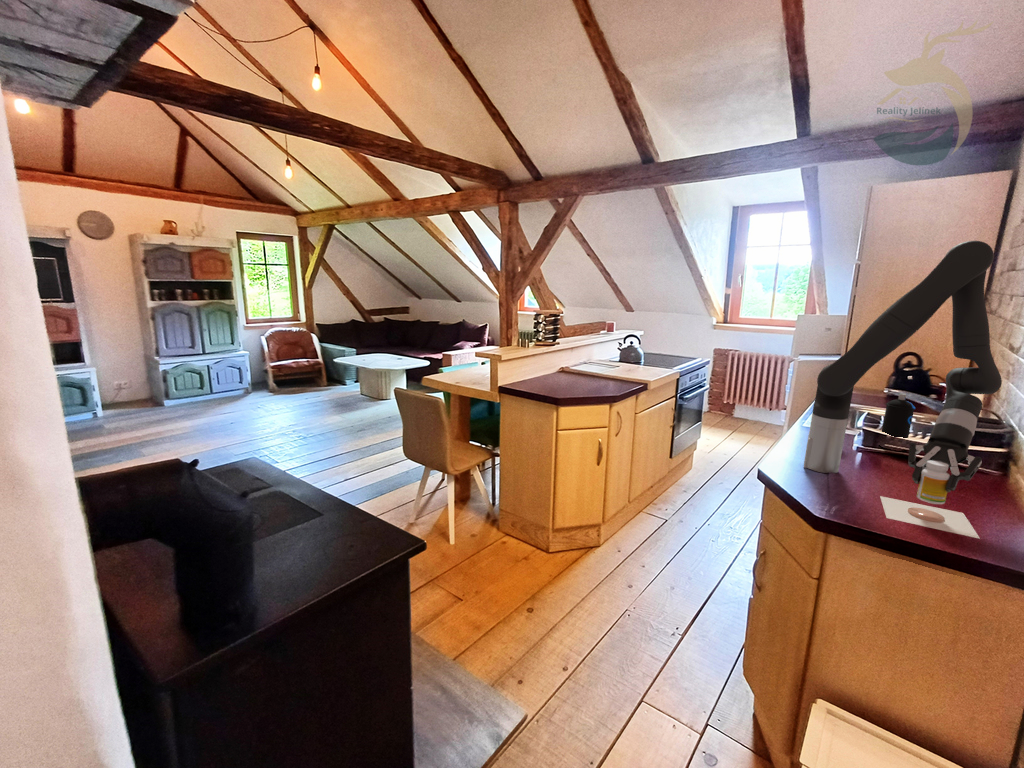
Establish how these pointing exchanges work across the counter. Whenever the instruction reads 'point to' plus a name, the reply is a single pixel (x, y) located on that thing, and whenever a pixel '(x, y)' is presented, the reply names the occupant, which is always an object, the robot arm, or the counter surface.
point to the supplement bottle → (933, 482)
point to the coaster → (926, 514)
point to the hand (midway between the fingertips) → (931, 485)
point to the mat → (951, 523)
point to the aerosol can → (898, 417)
